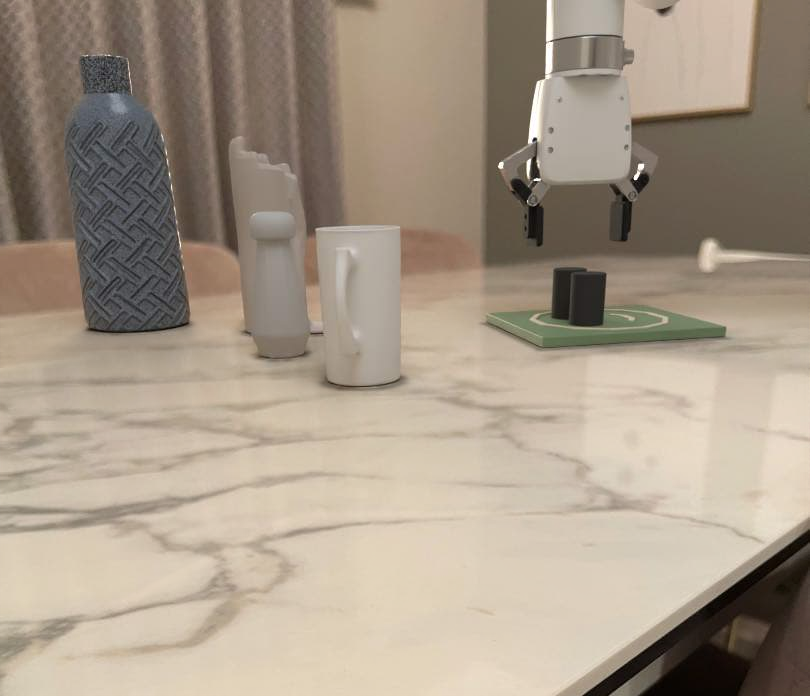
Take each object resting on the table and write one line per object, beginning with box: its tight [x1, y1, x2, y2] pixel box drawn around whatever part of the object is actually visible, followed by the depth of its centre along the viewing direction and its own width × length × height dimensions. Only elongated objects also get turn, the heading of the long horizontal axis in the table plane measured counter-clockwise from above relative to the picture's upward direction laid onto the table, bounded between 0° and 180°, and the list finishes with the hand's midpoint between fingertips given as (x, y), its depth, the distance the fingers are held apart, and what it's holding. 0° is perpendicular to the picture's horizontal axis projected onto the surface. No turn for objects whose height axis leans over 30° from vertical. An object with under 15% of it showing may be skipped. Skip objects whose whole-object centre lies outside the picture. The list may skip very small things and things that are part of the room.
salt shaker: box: [249, 211, 311, 359], centre depth 80 cm, size 6×6×13 cm
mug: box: [315, 225, 402, 387], centre depth 68 cm, size 10×7×12 cm, turn 169°
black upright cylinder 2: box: [569, 270, 608, 326], centre depth 89 cm, size 4×4×5 cm
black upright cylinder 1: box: [551, 266, 588, 320], centre depth 93 cm, size 4×4×5 cm
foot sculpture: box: [228, 135, 323, 334], centre depth 93 cm, size 7×14×20 cm, turn 88°
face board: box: [486, 304, 727, 349], centre depth 93 cm, size 20×18×1 cm
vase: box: [63, 54, 191, 333], centre depth 97 cm, size 12×12×28 cm
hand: (576, 243), depth 91 cm, fingers open, 9 cm apart
